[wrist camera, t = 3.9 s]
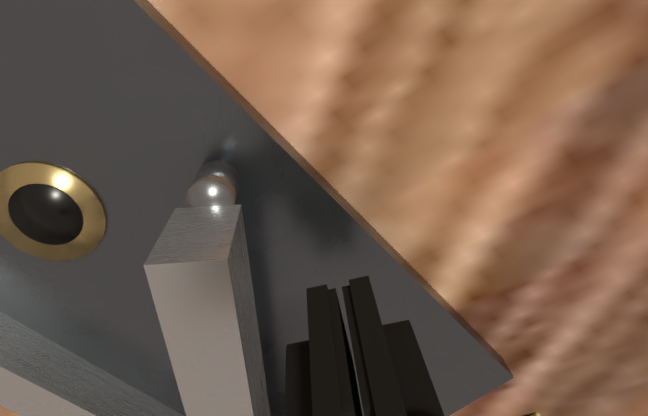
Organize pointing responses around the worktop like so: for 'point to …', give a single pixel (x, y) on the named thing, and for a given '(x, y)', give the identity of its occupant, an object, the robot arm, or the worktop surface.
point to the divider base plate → (165, 218)
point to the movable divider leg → (209, 299)
